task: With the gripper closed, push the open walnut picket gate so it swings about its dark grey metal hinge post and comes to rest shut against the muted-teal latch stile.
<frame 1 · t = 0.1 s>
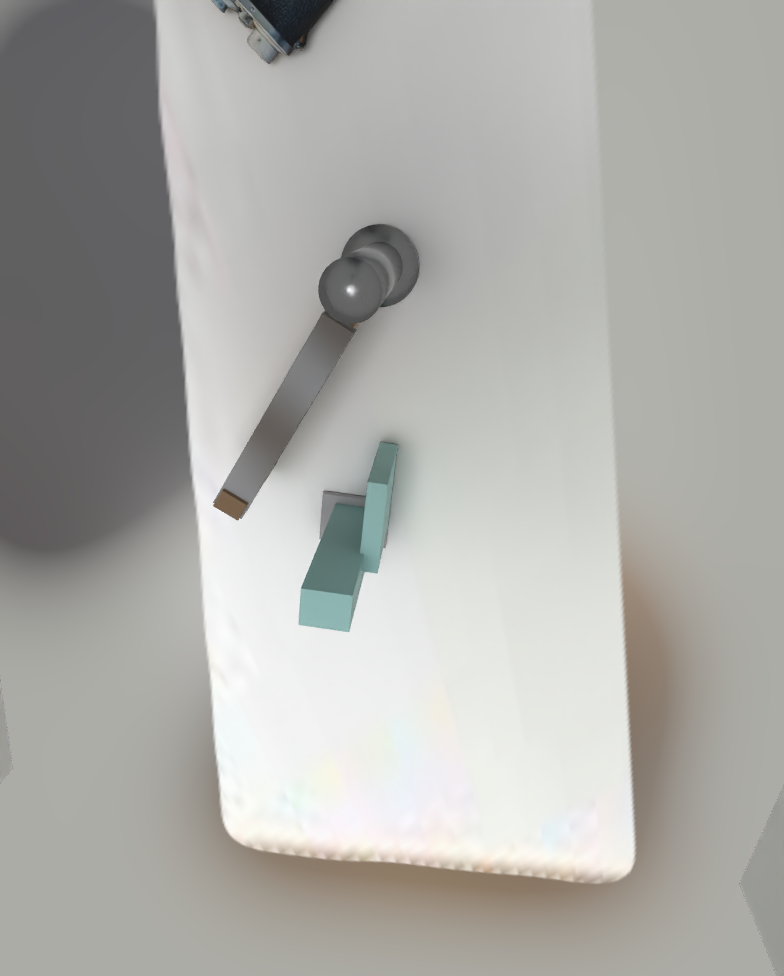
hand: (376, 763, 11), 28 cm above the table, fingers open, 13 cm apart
stile: (355, 518, 41), on the table
hinge post: (380, 266, 35), on the table
gate: (292, 406, 35), point 4 cm above the table, hinge at -26.0°
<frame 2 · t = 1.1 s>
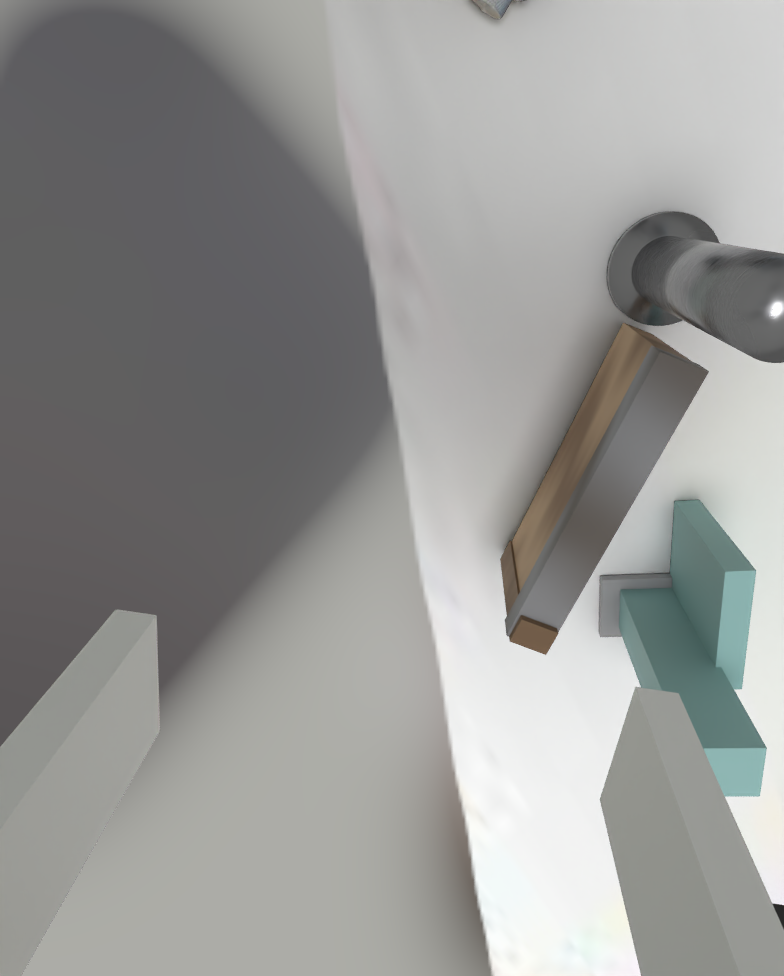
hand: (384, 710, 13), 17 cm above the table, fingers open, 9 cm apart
stile: (644, 603, 31), on the table
hinge post: (662, 269, 25), on the table
gate: (584, 484, 25), point 4 cm above the table, hinge at -26.0°
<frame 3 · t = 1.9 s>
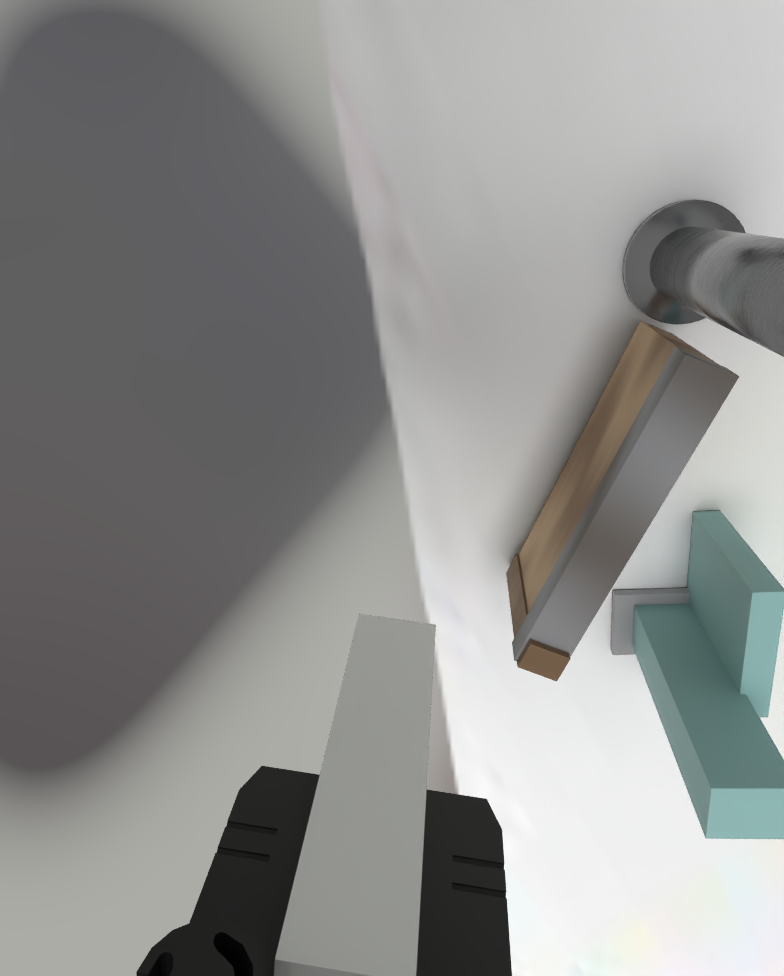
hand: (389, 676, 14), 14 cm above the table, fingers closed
stile: (660, 618, 29), on the table
hinge post: (682, 263, 23), on the table
gate: (598, 496, 23), point 4 cm above the table, hinge at -26.0°
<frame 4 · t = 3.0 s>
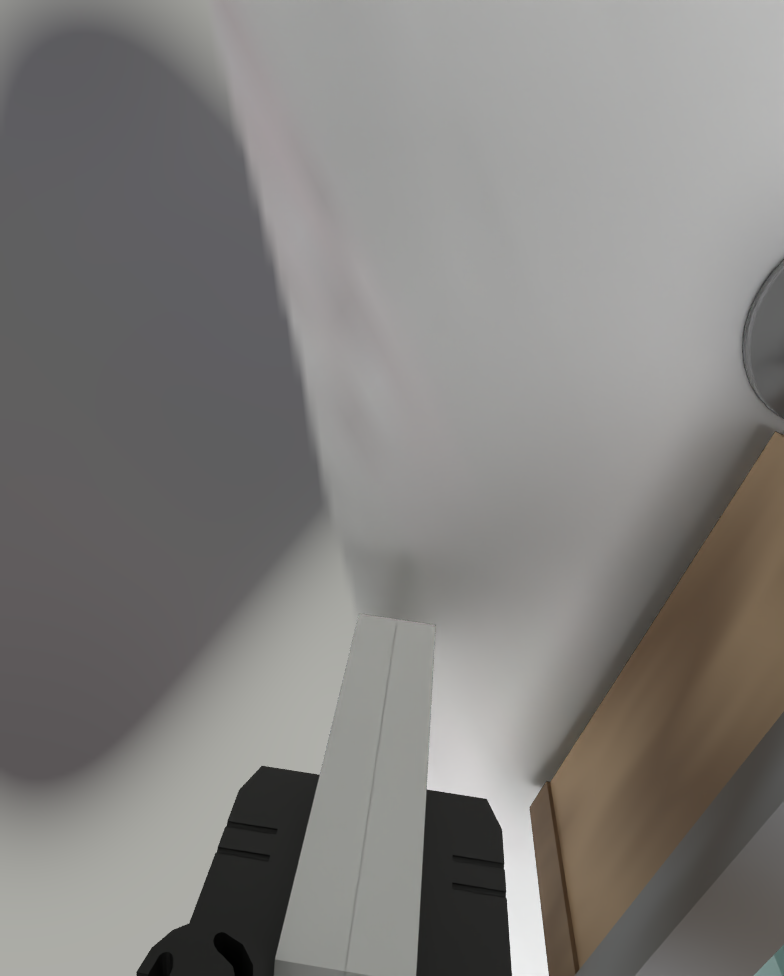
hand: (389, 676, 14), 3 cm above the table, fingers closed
stile: (769, 867, 19), on the table
gate: (706, 756, 13), point 4 cm above the table, hinge at -26.0°
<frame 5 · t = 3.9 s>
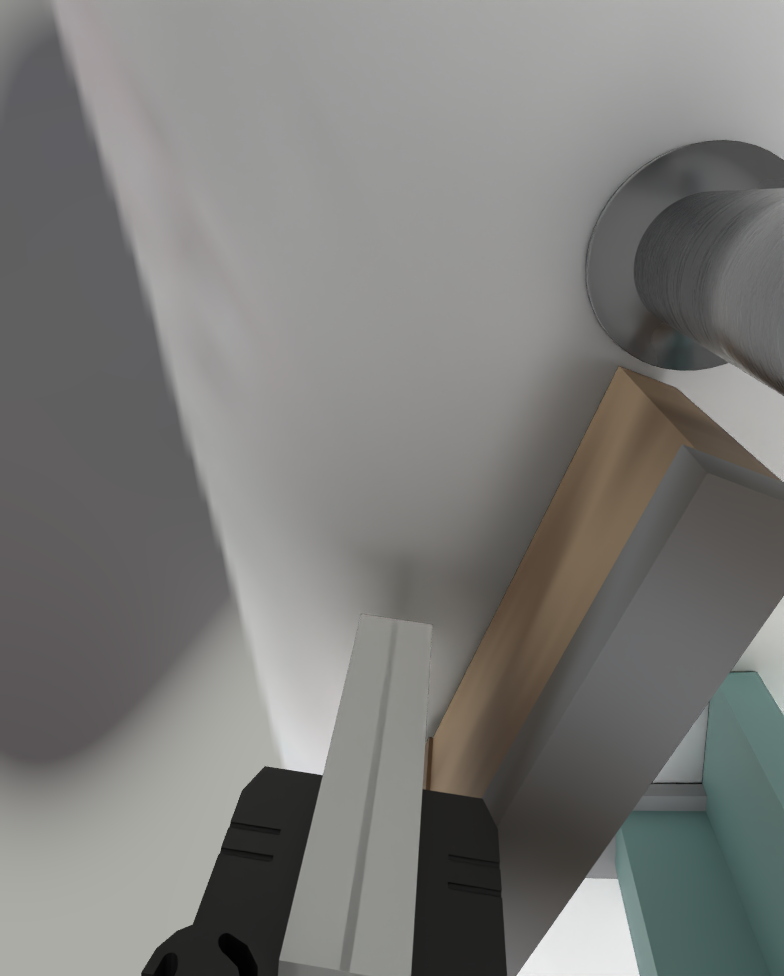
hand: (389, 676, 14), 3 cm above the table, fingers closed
stile: (659, 826, 18), on the table
hinge post: (694, 260, 13), on the table
gate: (543, 693, 12), point 4 cm above the table, hinge at -25.3°, touching gripper
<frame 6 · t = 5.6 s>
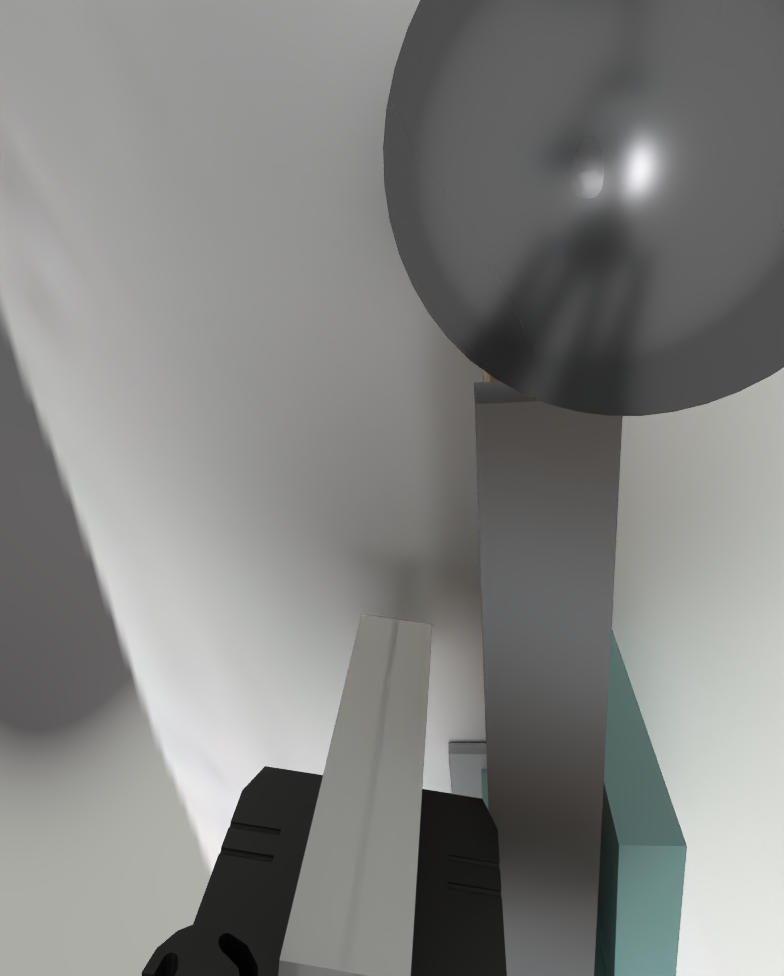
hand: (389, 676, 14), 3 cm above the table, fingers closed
stile: (528, 787, 18), on the table
hinge post: (510, 193, 13), on the table
gate: (528, 661, 12), point 4 cm above the table, hinge at -1.1°, touching gripper
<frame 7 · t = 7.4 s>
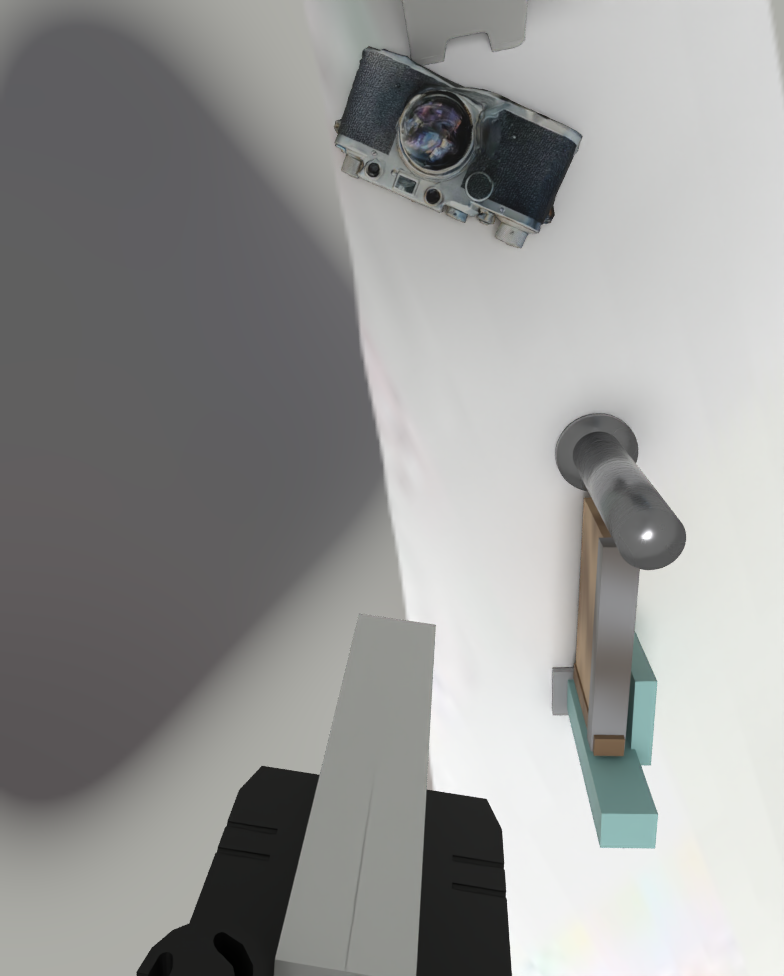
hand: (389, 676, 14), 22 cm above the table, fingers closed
stile: (587, 689, 40), on the table
hinge post: (595, 452, 35), on the table
camera: (457, 150, 31), on the table
gate: (602, 623, 34), point 4 cm above the table, hinge at -1.1°
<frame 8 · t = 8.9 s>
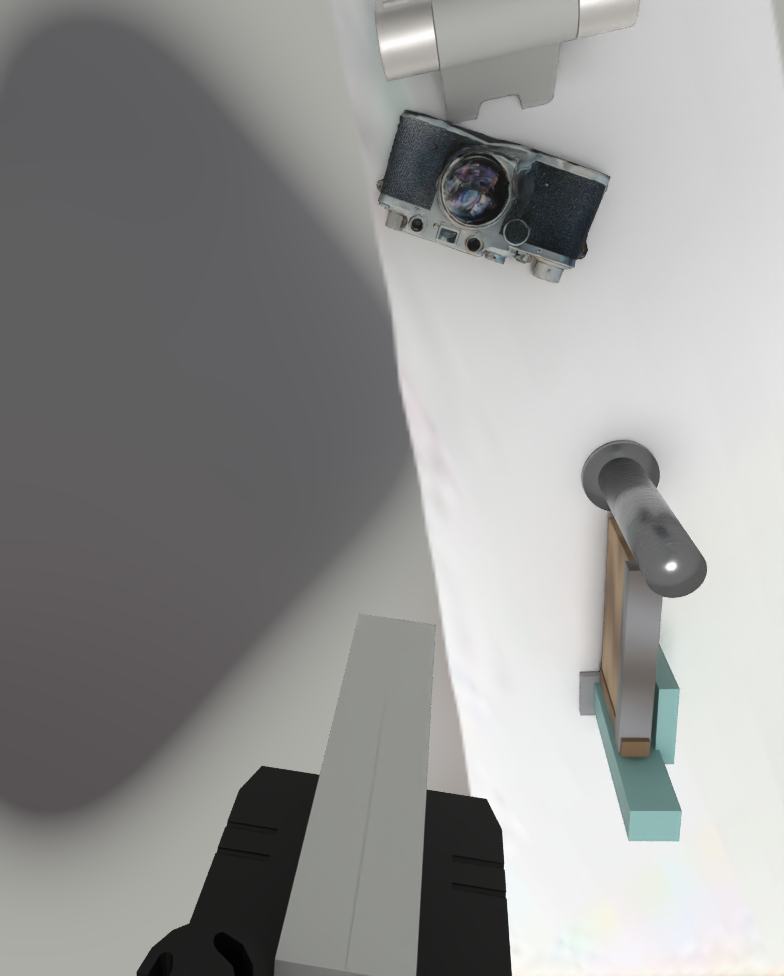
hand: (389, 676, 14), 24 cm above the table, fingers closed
stile: (612, 691, 43), on the table
hinge post: (619, 475, 37), on the table
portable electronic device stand: (488, 14, 30), on the table
camera: (491, 195, 33), on the table
gate: (627, 634, 37), point 4 cm above the table, hinge at -1.1°
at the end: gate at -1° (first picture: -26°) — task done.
